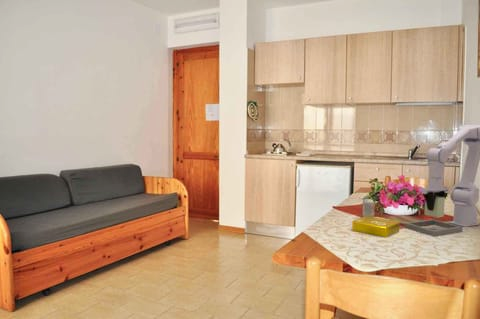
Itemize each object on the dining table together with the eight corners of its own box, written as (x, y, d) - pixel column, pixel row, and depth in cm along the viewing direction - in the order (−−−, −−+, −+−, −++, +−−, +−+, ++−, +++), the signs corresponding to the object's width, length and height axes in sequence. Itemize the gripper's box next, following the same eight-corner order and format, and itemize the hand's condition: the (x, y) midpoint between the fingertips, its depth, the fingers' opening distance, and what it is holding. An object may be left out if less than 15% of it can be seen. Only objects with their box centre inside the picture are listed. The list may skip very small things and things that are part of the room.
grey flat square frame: (432, 223, 172) (432, 219, 172) (462, 231, 160) (462, 226, 159) (404, 227, 165) (405, 223, 165) (433, 236, 152) (433, 231, 152)
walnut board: (404, 216, 184) (404, 214, 184) (426, 222, 173) (426, 220, 173) (382, 219, 178) (382, 217, 178) (403, 226, 167) (403, 223, 167)
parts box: (431, 213, 165) (432, 195, 164) (443, 216, 160) (444, 197, 159) (424, 214, 164) (425, 195, 163) (436, 217, 158) (438, 198, 157)
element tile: (400, 231, 161) (401, 220, 160) (386, 238, 150) (386, 226, 150) (366, 224, 171) (366, 214, 171) (350, 231, 160) (350, 220, 160)
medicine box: (374, 221, 175) (374, 202, 175) (363, 220, 176) (364, 202, 175) (371, 217, 183) (372, 199, 182) (362, 216, 184) (362, 198, 183)
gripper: (439, 175, 167) (437, 206, 168) (415, 176, 161) (413, 209, 162) (454, 177, 160) (452, 209, 162) (430, 179, 154) (428, 212, 156)
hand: (434, 209), depth 161 cm, fingers closed on parts box, 4 cm apart
